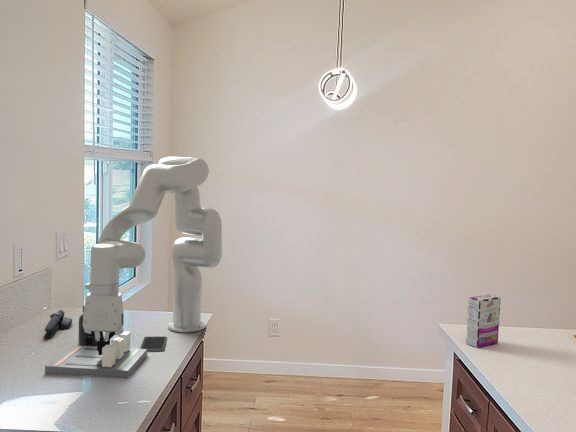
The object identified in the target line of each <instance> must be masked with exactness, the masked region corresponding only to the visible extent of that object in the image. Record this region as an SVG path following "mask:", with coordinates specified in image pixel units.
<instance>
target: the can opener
mask: <svg viewBox="0 0 576 432" xmlns="http://www.w3.org/2000/svg"><path fill="white" fill-rule="evenodd" d="M49 318H50V320H49V321H48V323H47V324H46V326H45V328H44V333H45V334H44V335H43V338H44V339H45V340H49V339H51V338H53V337H54V335H55V334H56V332H57V331H58V329H59V328H60V329H69V328H70V327H71V326H72V324H73V318H70V317H67V316H65V311H64V310H63V309H62V310H61V309H60V310H58V311H57V312H54V313H49Z"/></svg>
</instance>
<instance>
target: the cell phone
mask: <svg viewBox="0 0 576 432" xmlns="http://www.w3.org/2000/svg"><path fill="white" fill-rule="evenodd" d="M167 341H168V337H167V336H144V337H143V340H142V343H141V345H140V348H139V349H147V353H160V352H161V353H162V352H165V351H166V350H165V349H166V345H167Z"/></svg>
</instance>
